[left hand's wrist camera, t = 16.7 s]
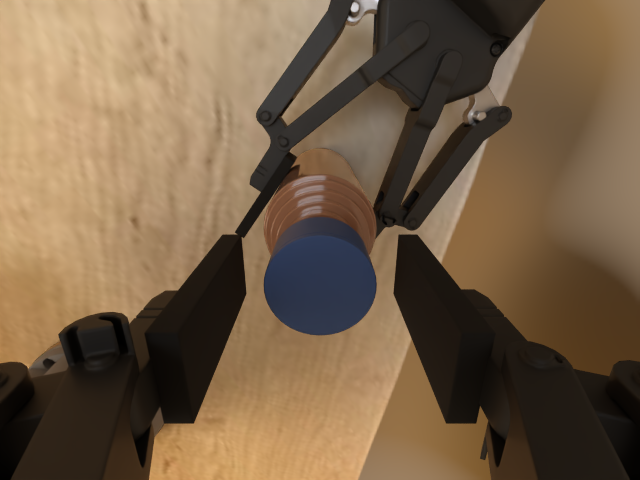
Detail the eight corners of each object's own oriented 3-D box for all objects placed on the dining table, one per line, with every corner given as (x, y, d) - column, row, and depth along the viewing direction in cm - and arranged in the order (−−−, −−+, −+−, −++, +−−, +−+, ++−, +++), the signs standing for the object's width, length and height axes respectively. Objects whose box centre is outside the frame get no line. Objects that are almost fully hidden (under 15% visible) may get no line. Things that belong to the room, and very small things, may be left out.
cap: (349, 314, 15) (354, 347, 13) (261, 290, 15) (251, 319, 13) (382, 233, 14) (394, 254, 12) (287, 203, 13) (281, 220, 11)
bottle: (273, 185, 31) (207, 288, 13) (316, 133, 29) (312, 166, 11) (322, 227, 32) (326, 372, 14) (367, 179, 31) (434, 275, 13)
